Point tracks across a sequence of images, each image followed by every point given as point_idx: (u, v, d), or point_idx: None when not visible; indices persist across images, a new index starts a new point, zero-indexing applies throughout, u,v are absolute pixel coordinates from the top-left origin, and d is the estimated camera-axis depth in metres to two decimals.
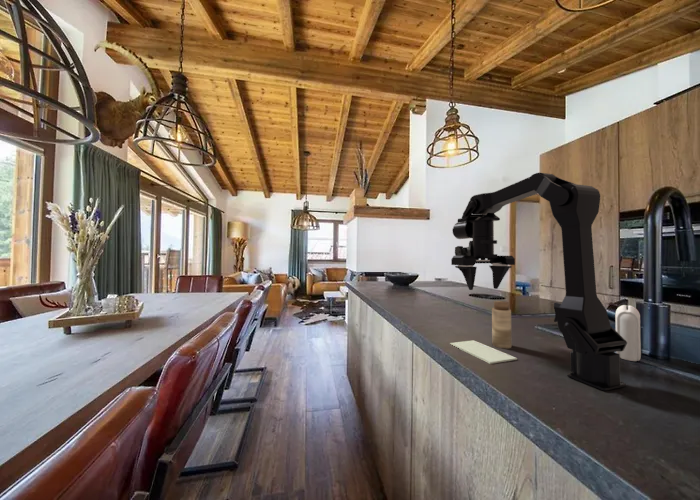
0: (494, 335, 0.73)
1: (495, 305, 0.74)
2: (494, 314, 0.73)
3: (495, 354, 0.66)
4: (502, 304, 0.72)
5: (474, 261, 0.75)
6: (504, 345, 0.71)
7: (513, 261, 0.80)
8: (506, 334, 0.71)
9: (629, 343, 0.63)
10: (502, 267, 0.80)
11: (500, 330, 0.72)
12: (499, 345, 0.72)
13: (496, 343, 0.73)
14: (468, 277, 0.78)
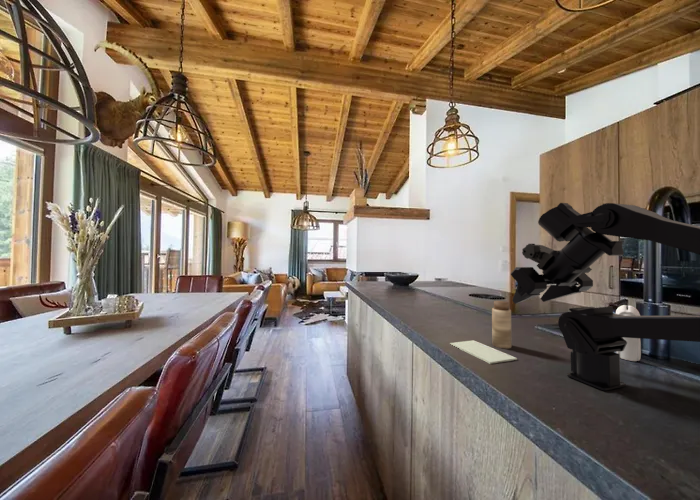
0: (494, 335, 0.73)
1: (495, 305, 0.74)
2: (494, 314, 0.73)
3: (495, 354, 0.66)
4: (502, 304, 0.72)
5: (542, 290, 0.57)
6: (504, 345, 0.71)
7: (588, 288, 0.61)
8: (506, 334, 0.71)
9: (629, 343, 0.63)
10: (569, 290, 0.62)
11: (500, 330, 0.72)
12: (499, 345, 0.72)
13: (496, 343, 0.73)
14: (521, 294, 0.62)
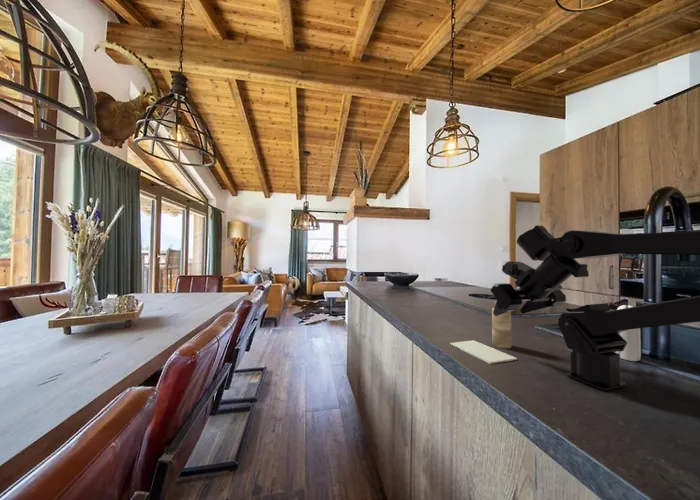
0: (494, 335, 0.73)
1: None
2: None
3: (495, 354, 0.66)
4: None
5: (518, 306, 0.62)
6: (504, 345, 0.71)
7: (561, 303, 0.67)
8: (506, 334, 0.71)
9: (629, 343, 0.63)
10: (544, 304, 0.67)
11: (500, 330, 0.72)
12: (499, 345, 0.72)
13: (496, 343, 0.73)
14: (500, 308, 0.67)
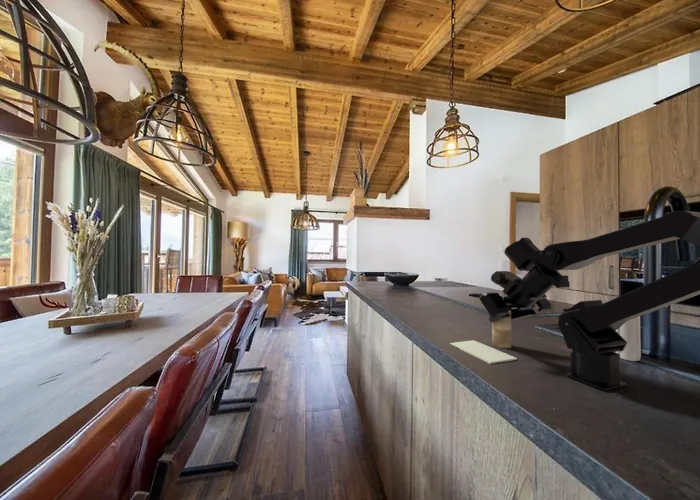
0: (494, 335, 0.73)
1: None
2: None
3: (495, 354, 0.66)
4: None
5: (505, 314, 0.66)
6: (504, 345, 0.71)
7: (547, 310, 0.70)
8: (505, 334, 0.71)
9: (629, 343, 0.63)
10: (525, 312, 0.70)
11: (500, 330, 0.72)
12: (499, 345, 0.72)
13: (496, 343, 0.73)
14: None
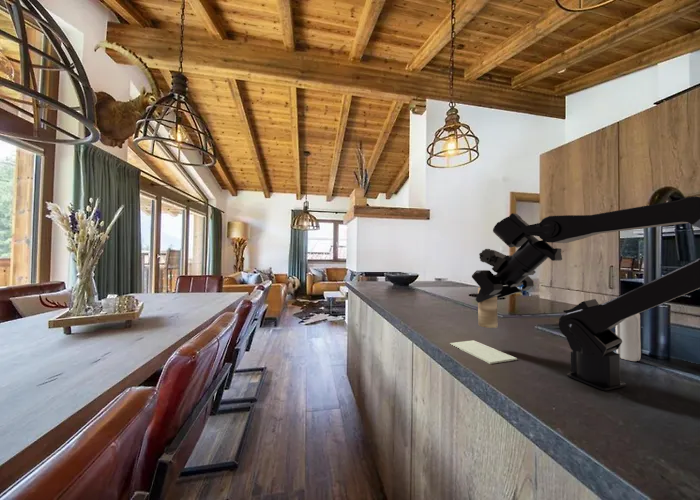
0: (481, 315, 0.71)
1: None
2: None
3: (495, 354, 0.66)
4: None
5: (498, 291, 0.63)
6: (492, 325, 0.70)
7: (530, 287, 0.71)
8: (493, 314, 0.70)
9: (629, 343, 0.63)
10: (511, 290, 0.70)
11: (488, 309, 0.70)
12: (487, 325, 0.70)
13: (483, 323, 0.71)
14: (484, 294, 0.69)
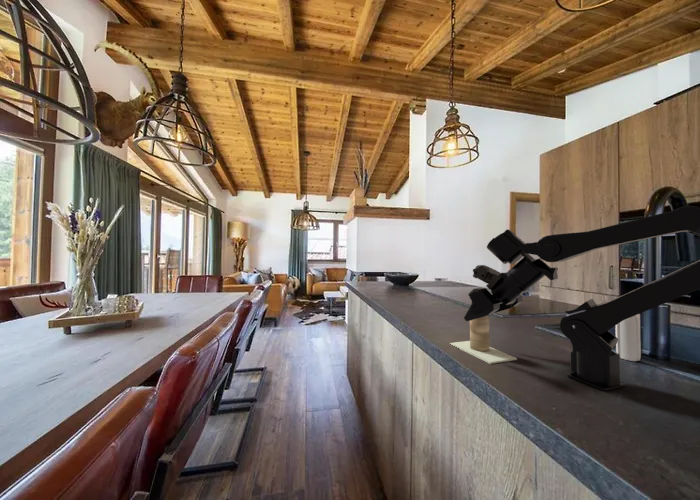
0: (474, 338, 0.69)
1: None
2: None
3: (495, 354, 0.66)
4: None
5: (496, 310, 0.61)
6: (485, 348, 0.68)
7: (519, 303, 0.70)
8: (486, 337, 0.68)
9: (629, 343, 0.63)
10: (506, 306, 0.70)
11: (481, 332, 0.68)
12: (480, 349, 0.68)
13: (477, 347, 0.68)
14: (474, 313, 0.65)
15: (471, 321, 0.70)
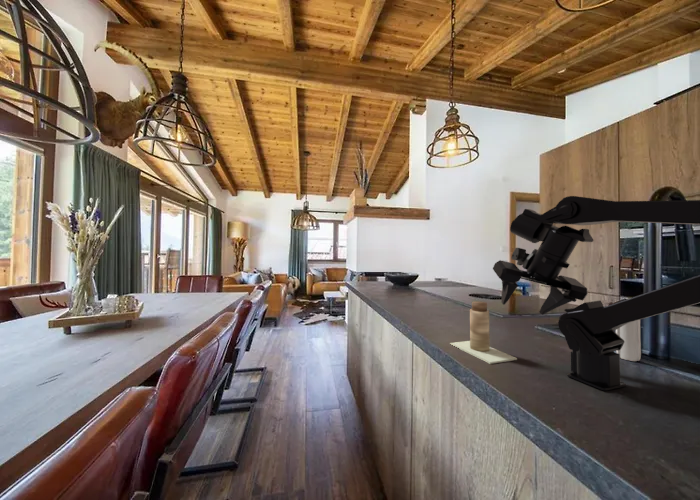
0: (474, 338, 0.69)
1: (475, 306, 0.69)
2: (474, 316, 0.69)
3: (495, 354, 0.66)
4: (482, 305, 0.69)
5: (517, 279, 0.60)
6: (485, 348, 0.68)
7: (582, 296, 0.59)
8: (486, 337, 0.68)
9: (629, 343, 0.63)
10: (561, 296, 0.61)
11: (482, 333, 0.68)
12: (480, 349, 0.68)
13: (477, 347, 0.68)
14: (504, 290, 0.64)
15: (471, 321, 0.70)
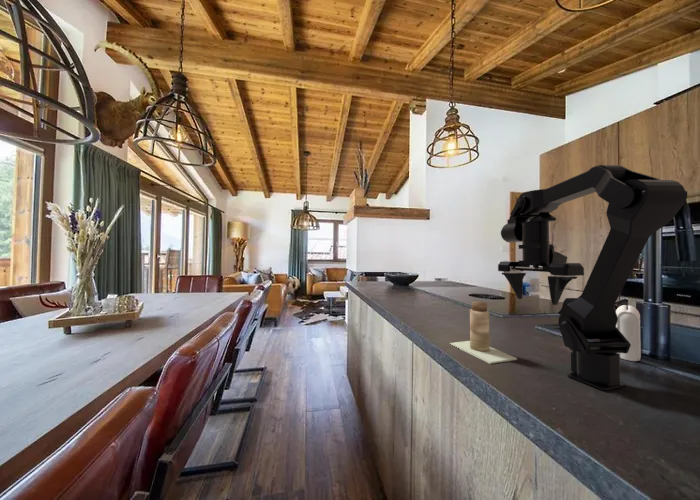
0: (474, 338, 0.69)
1: (475, 306, 0.69)
2: (474, 316, 0.69)
3: (495, 354, 0.66)
4: (482, 305, 0.69)
5: (506, 267, 0.73)
6: (485, 348, 0.68)
7: (561, 271, 0.60)
8: (486, 337, 0.68)
9: None
10: None
11: (482, 333, 0.68)
12: (480, 349, 0.68)
13: (477, 347, 0.68)
14: None
15: (471, 321, 0.70)
